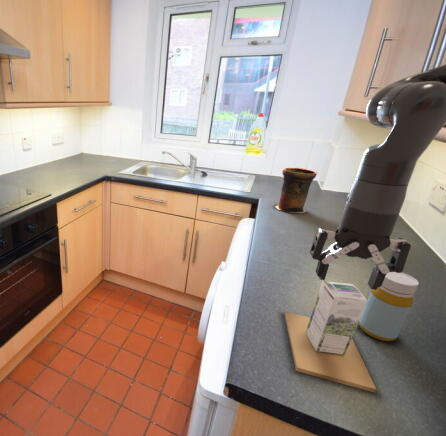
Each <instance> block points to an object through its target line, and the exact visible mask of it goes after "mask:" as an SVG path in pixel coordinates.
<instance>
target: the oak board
mask: <svg viewBox="0 0 446 436" xmlns="http://www.w3.org/2000/svg"><path fill="white" fill-rule="evenodd" d="M310 318H311V316H310V317H309V316H307V315H301V314H296V313H291V312H287V311H285V312H284V320H285V324H286V330H287V334H288V335H287V336H288V338H289V343H290V349H291V352H292V353H291V354H292V359H293V362H294V363H293V364H294V368H295V371H296V372H298V373H302V374H306V375H309V376H313V377H317V378H320V379H324V380H326V381H330V382H335V383H338V384H342V385H345V386H349V387H352V388H356V389H360V390H363V391H366V392H371V393H373V394H375V393H376V391H377V387H376V385H375V383H374V381H373V379H372V377H371V375H370V372H369V371H368V369H367V367H366V364H365V362H364V360H363V358H362V356H361V354H360V352H359V349H358V347H357V345H356V343H355V341H354V339H353V338H352V340H351V342H350V344H349V347H348V349H347V351H346V354H345V355H338V354H331V353H324V352H317V351H316V350H315V348H314V347H313V345H312V343H311V342H310V340H309V338H308V336H307V334H306V330H307V327H308V324H309V321H310Z"/></svg>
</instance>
